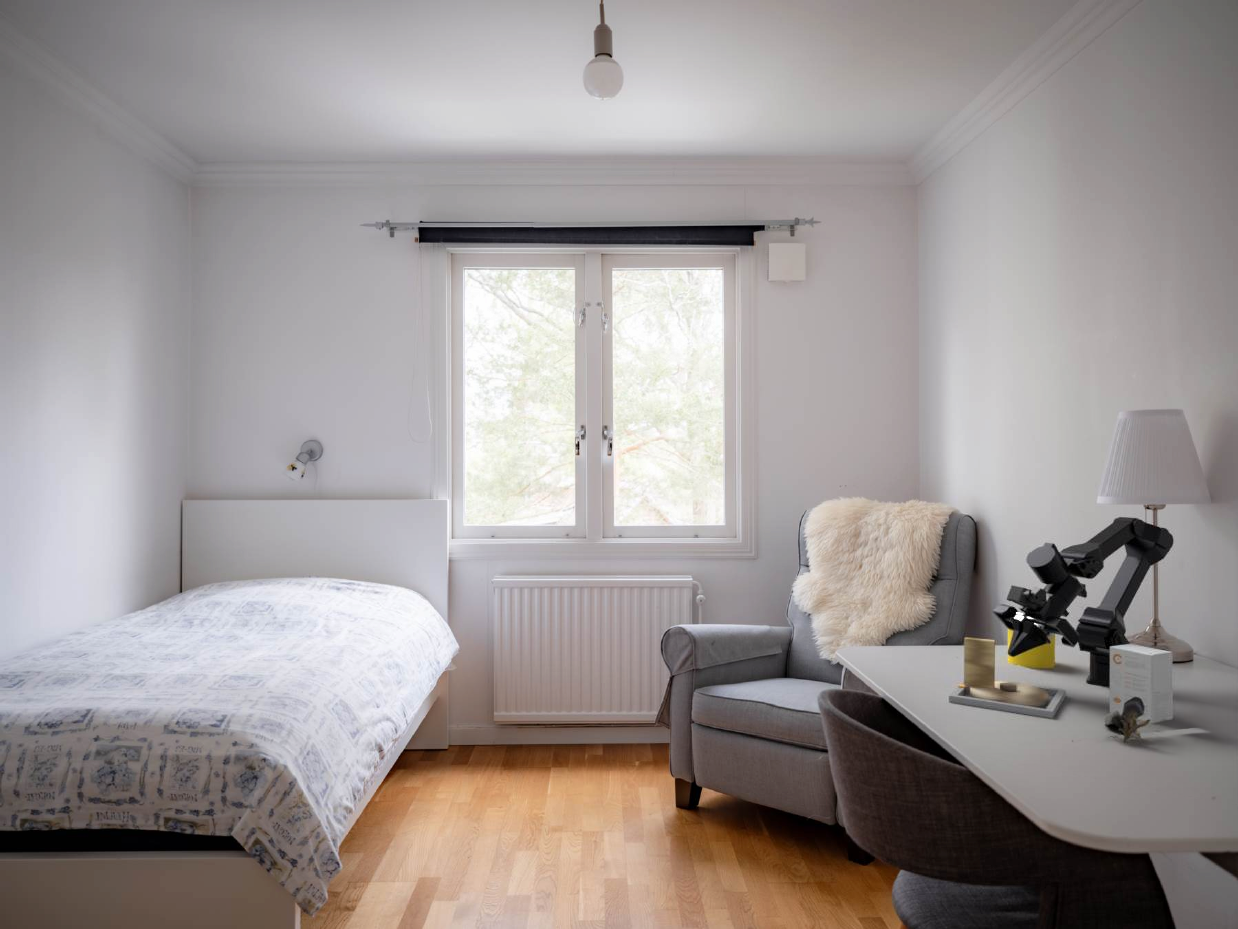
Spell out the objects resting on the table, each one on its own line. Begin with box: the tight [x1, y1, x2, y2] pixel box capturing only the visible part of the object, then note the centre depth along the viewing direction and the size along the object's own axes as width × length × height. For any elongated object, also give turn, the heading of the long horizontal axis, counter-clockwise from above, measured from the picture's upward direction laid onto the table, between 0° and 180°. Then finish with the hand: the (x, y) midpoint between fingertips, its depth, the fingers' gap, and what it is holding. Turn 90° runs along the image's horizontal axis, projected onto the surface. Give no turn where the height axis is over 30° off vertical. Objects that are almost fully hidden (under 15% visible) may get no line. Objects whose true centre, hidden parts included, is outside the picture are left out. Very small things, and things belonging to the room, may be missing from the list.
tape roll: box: [1007, 628, 1056, 669], centre depth 199 cm, size 10×10×9 cm
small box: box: [1109, 643, 1174, 724], centre depth 156 cm, size 8×6×13 cm
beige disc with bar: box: [963, 636, 1048, 708], centre depth 166 cm, size 15×14×11 cm
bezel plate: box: [948, 679, 1067, 720], centre depth 166 cm, size 18×18×2 cm
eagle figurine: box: [1104, 697, 1150, 743], centre depth 146 cm, size 8×7×9 cm
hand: (1010, 655), depth 172 cm, fingers closed
